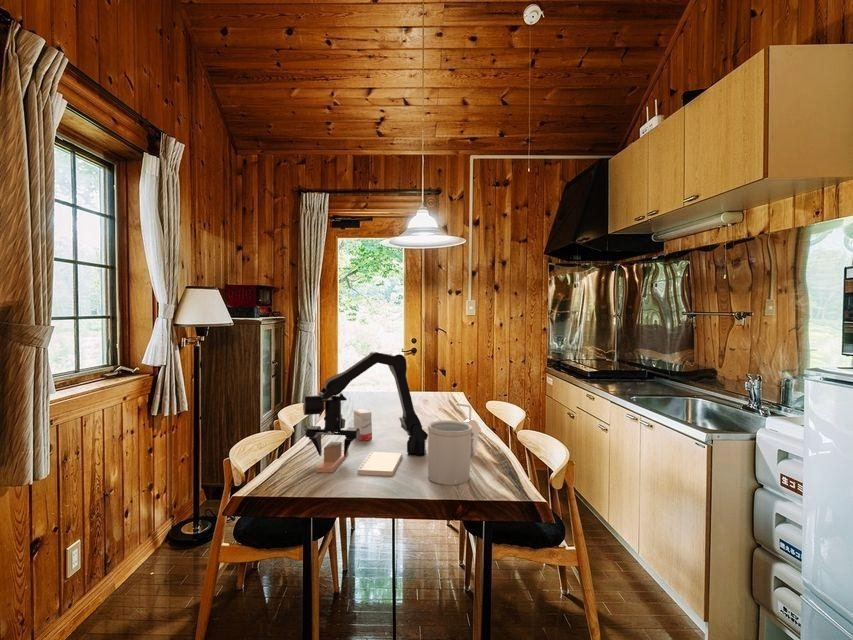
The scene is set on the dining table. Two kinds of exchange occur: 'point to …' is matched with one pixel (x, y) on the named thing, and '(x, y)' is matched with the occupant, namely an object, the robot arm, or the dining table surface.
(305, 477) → the dining table surface
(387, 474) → the board
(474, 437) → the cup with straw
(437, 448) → the utensil holder
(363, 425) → the ink box
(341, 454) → the stub
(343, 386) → the robot arm
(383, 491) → the dining table surface
